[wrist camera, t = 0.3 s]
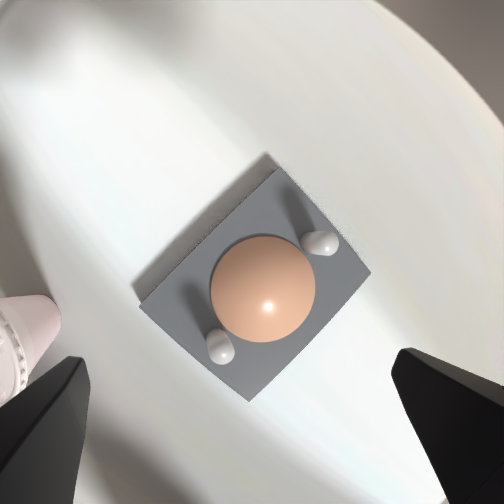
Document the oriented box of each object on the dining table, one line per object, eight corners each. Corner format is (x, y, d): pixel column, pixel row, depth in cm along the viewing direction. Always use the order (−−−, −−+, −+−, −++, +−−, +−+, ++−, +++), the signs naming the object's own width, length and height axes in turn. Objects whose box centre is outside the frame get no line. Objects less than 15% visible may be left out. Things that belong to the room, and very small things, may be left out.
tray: (246, 394, 24) (257, 421, 19) (141, 303, 22) (131, 317, 18) (363, 271, 25) (393, 276, 21) (275, 170, 23) (293, 156, 19)
